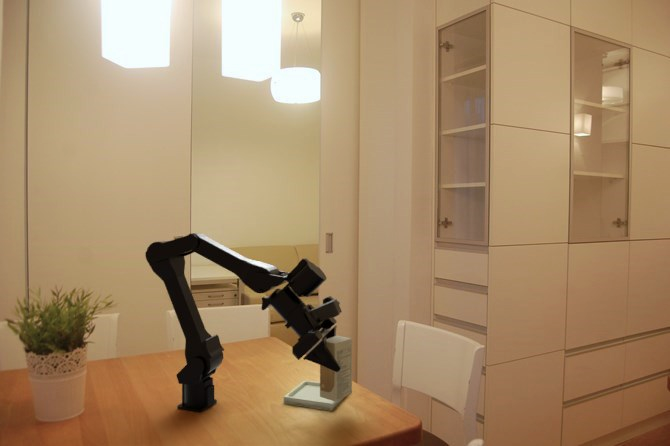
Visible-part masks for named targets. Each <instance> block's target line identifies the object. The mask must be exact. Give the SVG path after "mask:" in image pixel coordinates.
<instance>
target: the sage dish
mask: <svg viewBox="0 0 670 446" xmlns="http://www.w3.org/2000/svg"><path fill="white" fill-rule="evenodd" d="M344 399H345V397H343V398H341V399H339V400H337V401H332V400H329V399H326V398H323V397H320V381H314V380H313V381H311V380H306V379H305V380H304V381H302V382H301V383H299V384H298V385H297V386H296V387H294V388H293V389H292V390H291V391H289V392H288V393H287V394H285V395H283V404H284V405H291V406H297V407H304V408H311V409H316V410H322V411H323V410H324V411H329V412H332V411H333V410H334V409H336V408H337V406H338V405H339V404H340V403H341V402H342V401H343V400H344Z"/></svg>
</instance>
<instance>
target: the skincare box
mask: <svg viewBox="0 0 670 446" xmlns="http://www.w3.org/2000/svg"><path fill="white" fill-rule="evenodd" d="M326 346H327V348H328V350H329V351H330V353H331V354H332V356H333V357H334V358H335V360H336V361H337V363H338V364H339V366H340V368H341V369H340V370H339V371H338V372H335V371H333V370H331V369H329V368H326V367H324V366H322V365H319V382H320V397H323V398H326V399H329V400H332V401H337V400H339V399H341V398H343V397H344V398H345V397H347V396H349V395H351V394H352V393H353V338H350V337H347V336H341V335H336V336H334V337H331V338H328V339H326Z"/></svg>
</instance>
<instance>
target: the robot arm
mask: <svg viewBox="0 0 670 446" xmlns="http://www.w3.org/2000/svg"><path fill="white" fill-rule="evenodd" d="M194 253H196V254H198V255H200V256H202V257H203V258H205V259H206V260H209V261H211V262H212V263H214V264H216V265H218V266H219V267H221V268H223V269H225V270H227V271H229V272H231V273H233V275H236V277H238V278H239V280H240V281H241V282H242V283H243V284H244V285H245V286H247V287H248V288H249V289H250V290H251V291H253V292H254V293H256V294H264V293H268V292H270V291H272V290H274V291H273V292H272V293H271V294H270V295H266V296H263V297H262V298H261V302H262V303H261V308H260V309H261V310H262V311H265V310H268V309H269V308H270V307H272V309H274V310H275V312H276V313H277V314H278V315H279V316H280V317H281V318H282V319H283V320H284V322H285V324H284V327H285V328H286V329H288V330H289V329H292V331H293V332H295V333H294V334H296V335H297V336H298V339H297V342H296V343H295V344H293V346H292V350H291V351H292V352H291V353H292V355H293V356H294V357H295V358H296V360H298V361H300V360H301V359H303V360H304V361H305V360H306V361H309V362H312V363H315V364H317V365H319V366H320V365H322V366H324V367H326V368H329V369H331V370H333V371H335V372H338V371H339V370H340V369H341V368H340V366H339V364H338V363H337V361H336V360H335V358H334V357H333V356H332V354H331V353H330V351H329V350H328V348H327V346H326V339H328V338H331V337H334V336H337V327H338V326H337V325H335V324H336V323H337V320H336V319H335V318H336V317H337V316H339V315H340V314H341V313H342V311H343V310H342V309H341V307H340V301H338V299H337V298H333V297H332V296H331V295H329V296H326V297H325V298H323V299H322V304H319V305H318V306H316V307H314V306H313V305H312V304H310V303H308V304H306V303H305V302H304V301H303V300H302V299H301V298H302V297H303V296H304V297H307V298H308V297H310V296H311V295H312V294H313V293H314V292H315V291H316V290H317V289H318V288H319V287H320V286H321V285H322V284H324V283H325V281H327V275H326V274H325V272H323V270H322V269H321V268H320V267H319V266H317V265H316V264H315V263H313V262H311V261H310V260H309V259H308V258H307V257H303V258H302V259H300V261H299V262H298V264H297V265H296V266H295V267H294V268H292V270H290V271H282V270H279V268H278V267H276V266H275V265H272V264H269V263H266V262H264V261H259V260H254V259H251V258H247V257H246V256H244V255H241V254H240V253H238V252H237V251H234V250H232V249H230V248H228V247H227V246H225V245H223V244H221V243H219V242H217V241H216V240H213V239H211V238H210V237H208V236H206V235H205V234H204V233H202V232H197V233H195V232H194V233H189V234H186V235H185V236H182V237H179V238H174V239H172V240H165V241H164V240H162V241H154V242H152V243H150V244H149V245H148V247H147V249H146V251H145V253H144V254H145V255H144V256H145V260H146V261H147V263H148V265H149V267H150V269H151V270H152V272H153V273H154V274H155V275H156V276H157V277H158V278H159V279H160V280H161V281H162V282H163V284H164V286H165V289H166V291H167V294H168V297H169V300H170V302H171V305H172V307H173V310H174V313H175V315H176V318H177V319H178V323H179V325H180V329H181V331H182V333H183V336H184V339H185V347H184V357H185V363H186V364H185V365H184V366H183V368H182V369H180V371H178V373H177V374H176V379H177V382H178V384H179V385H181V403H179V404H178V405H177V406H176V407H177V409H180V410H181V409H182V410H186V411H193V412H198V413H199V412H203V411H204V410H206V409H208V408H209V407H211V406H213V405H214V404H216V403H218V400H217V398H216V399H215V384H214V377H211V376H212V375H214V374H216V372H217V369H218V368H219V367H220V366H221V364H222V363H223V360H224V351H225V348H224V347H223V346H222V344H221V341H220V337H219V335H218V334H214V335H212V334H210V333H209V332H208V331H207V329H206V327H205V325H204V322H203V319H202V317H201V314H200V312H199V310H198V307H197V304H196V302H195V299H194V295H193V293H192V290H191V288H190V285H189V283H188V281H187V278H186V275H185V269H186V267H185V266H186V260H185V259H186V258H185V257H186V256H189V255H192V254H194ZM284 284H285V286H284V287H282V289H281V288H277V287H280V286H281V285H284ZM334 325H335V326H334ZM333 326H334V327H333Z"/></svg>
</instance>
